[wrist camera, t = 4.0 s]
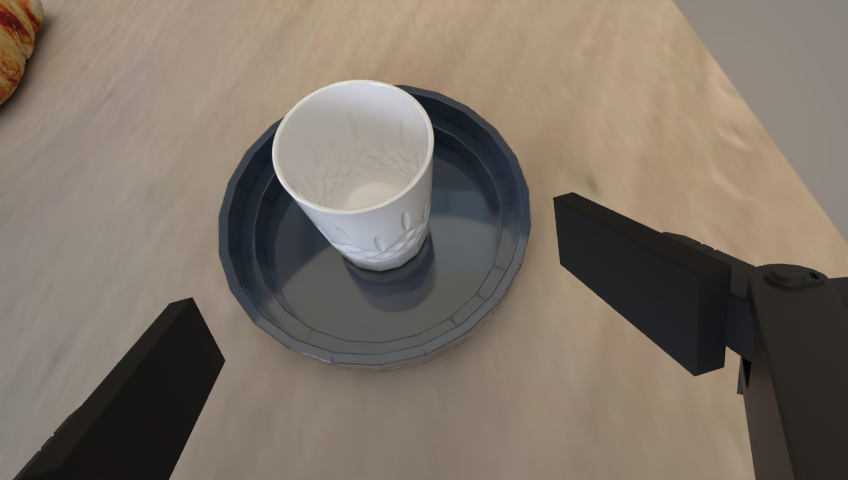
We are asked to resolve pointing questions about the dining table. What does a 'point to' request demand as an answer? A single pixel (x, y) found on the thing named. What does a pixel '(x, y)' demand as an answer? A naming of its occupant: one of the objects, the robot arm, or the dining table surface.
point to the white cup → (360, 169)
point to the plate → (393, 288)
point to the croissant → (16, 40)
